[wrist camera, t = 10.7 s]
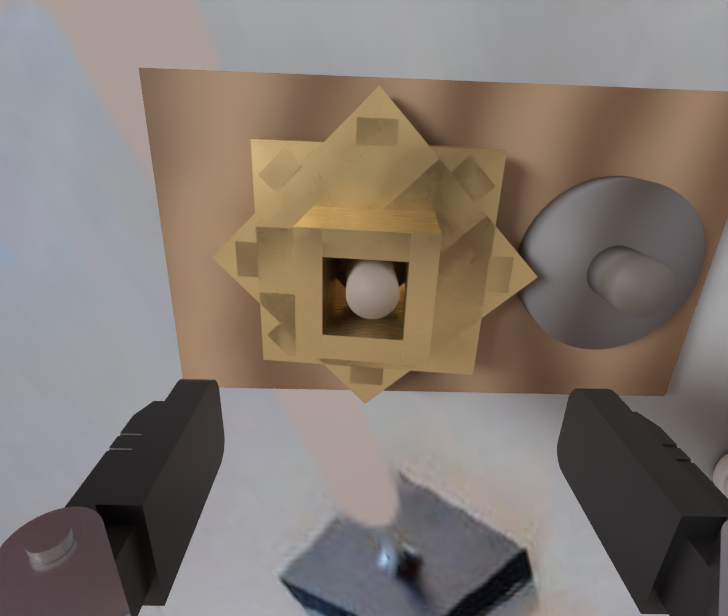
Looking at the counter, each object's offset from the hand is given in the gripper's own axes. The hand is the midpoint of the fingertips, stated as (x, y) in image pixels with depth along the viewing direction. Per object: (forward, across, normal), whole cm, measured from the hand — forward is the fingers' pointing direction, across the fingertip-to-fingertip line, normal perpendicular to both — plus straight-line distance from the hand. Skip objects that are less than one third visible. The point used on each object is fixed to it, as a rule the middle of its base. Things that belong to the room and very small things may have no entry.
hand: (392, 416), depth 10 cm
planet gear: (+11, 0, 0) cm, 11 cm away
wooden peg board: (+14, -3, 0) cm, 14 cm away
